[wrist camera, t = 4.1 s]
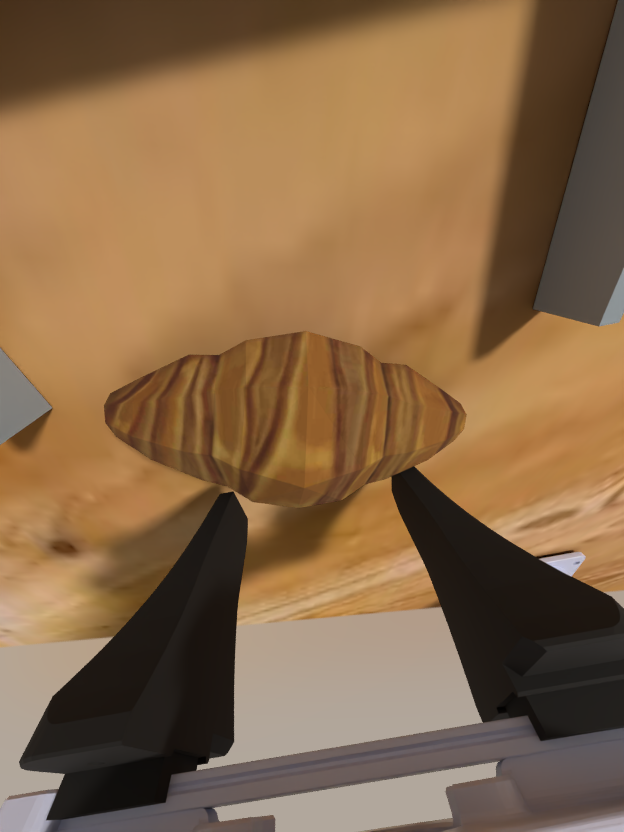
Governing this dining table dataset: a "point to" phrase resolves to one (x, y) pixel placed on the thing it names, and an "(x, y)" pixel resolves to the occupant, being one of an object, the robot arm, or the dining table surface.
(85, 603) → the dining table surface
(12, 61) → the dining table surface
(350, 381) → the croissant
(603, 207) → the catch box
